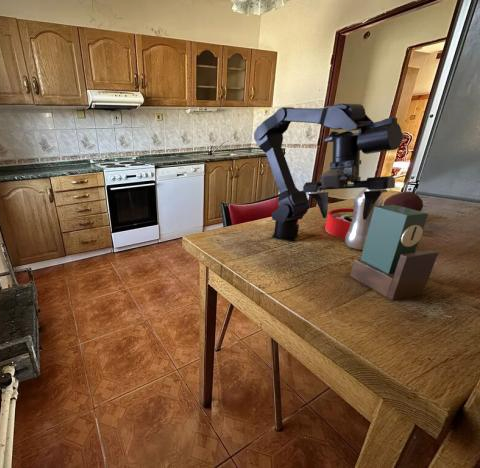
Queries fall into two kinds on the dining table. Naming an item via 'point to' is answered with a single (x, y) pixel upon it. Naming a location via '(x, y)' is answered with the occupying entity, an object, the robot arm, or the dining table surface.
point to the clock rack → (398, 275)
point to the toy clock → (339, 222)
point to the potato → (405, 201)
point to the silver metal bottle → (360, 222)
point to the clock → (392, 235)
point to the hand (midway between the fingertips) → (343, 218)
